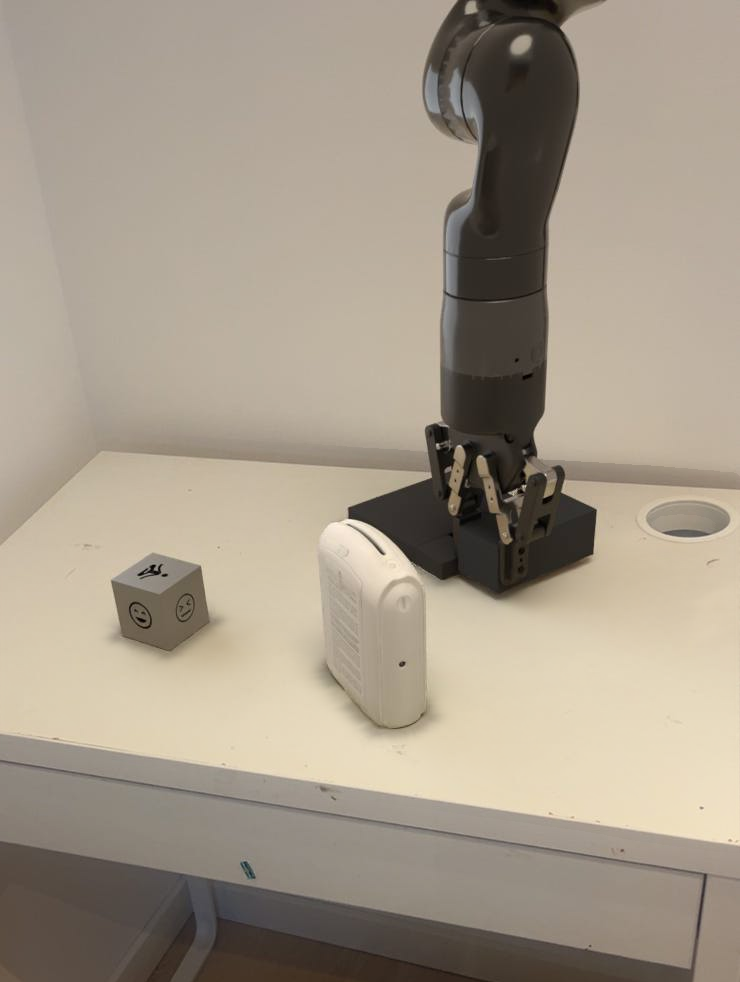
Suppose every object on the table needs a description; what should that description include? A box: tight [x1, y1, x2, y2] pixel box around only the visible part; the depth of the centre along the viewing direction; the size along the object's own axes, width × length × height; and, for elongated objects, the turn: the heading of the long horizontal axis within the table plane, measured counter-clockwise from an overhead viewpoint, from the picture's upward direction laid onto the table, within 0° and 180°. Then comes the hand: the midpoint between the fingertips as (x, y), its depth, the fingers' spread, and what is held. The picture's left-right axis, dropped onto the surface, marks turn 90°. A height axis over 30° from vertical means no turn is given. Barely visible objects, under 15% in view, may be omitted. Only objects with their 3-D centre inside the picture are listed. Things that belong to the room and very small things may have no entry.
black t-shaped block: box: [458, 491, 598, 595], centre depth 95 cm, size 10×8×4 cm
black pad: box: [347, 470, 462, 581], centre depth 102 cm, size 12×14×2 cm
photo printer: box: [317, 518, 428, 729], centre depth 80 cm, size 10×4×12 cm, turn 23°
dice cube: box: [110, 552, 210, 652], centre depth 92 cm, size 5×5×5 cm
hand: (489, 567), depth 93 cm, fingers closed on black t-shaped block, 5 cm apart
